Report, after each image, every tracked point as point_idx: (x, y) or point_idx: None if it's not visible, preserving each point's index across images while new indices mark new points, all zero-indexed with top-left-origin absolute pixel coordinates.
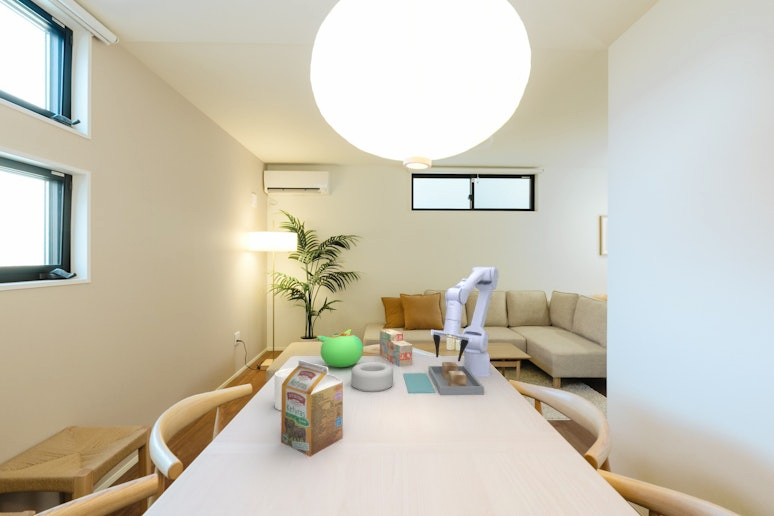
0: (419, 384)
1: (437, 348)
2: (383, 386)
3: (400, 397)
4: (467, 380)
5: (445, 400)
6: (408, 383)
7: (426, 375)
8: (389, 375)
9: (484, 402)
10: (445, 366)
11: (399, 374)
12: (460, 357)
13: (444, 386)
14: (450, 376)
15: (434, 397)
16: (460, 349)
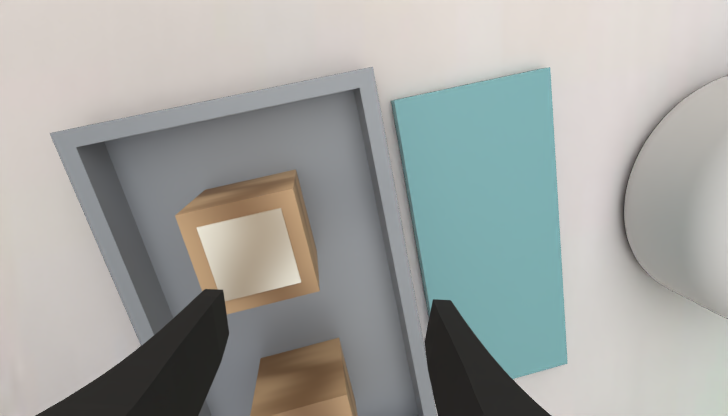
0: (485, 210)
1: (475, 362)
2: (694, 101)
3: (585, 19)
4: None
5: (329, 11)
6: (545, 214)
7: None
8: (713, 147)
9: (74, 14)
10: (342, 392)
11: (577, 365)
12: (183, 311)
13: (339, 221)
14: (302, 217)
15: (395, 52)
16: (148, 379)
